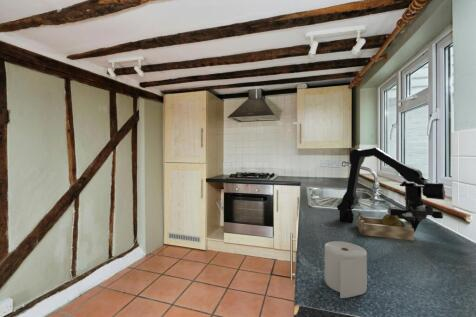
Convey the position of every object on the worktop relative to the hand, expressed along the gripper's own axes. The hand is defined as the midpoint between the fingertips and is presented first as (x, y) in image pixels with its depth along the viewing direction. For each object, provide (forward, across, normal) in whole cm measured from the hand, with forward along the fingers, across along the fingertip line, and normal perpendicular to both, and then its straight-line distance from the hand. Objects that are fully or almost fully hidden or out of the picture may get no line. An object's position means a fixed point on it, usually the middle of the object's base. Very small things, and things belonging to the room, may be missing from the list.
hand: (413, 231), depth 98 cm
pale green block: (+2, -3, 0) cm, 4 cm away
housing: (+2, -12, 0) cm, 12 cm away
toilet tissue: (+2, -32, -53) cm, 62 cm away
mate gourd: (+2, 0, +14) cm, 14 cm away
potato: (+2, -8, 0) cm, 8 cm away
